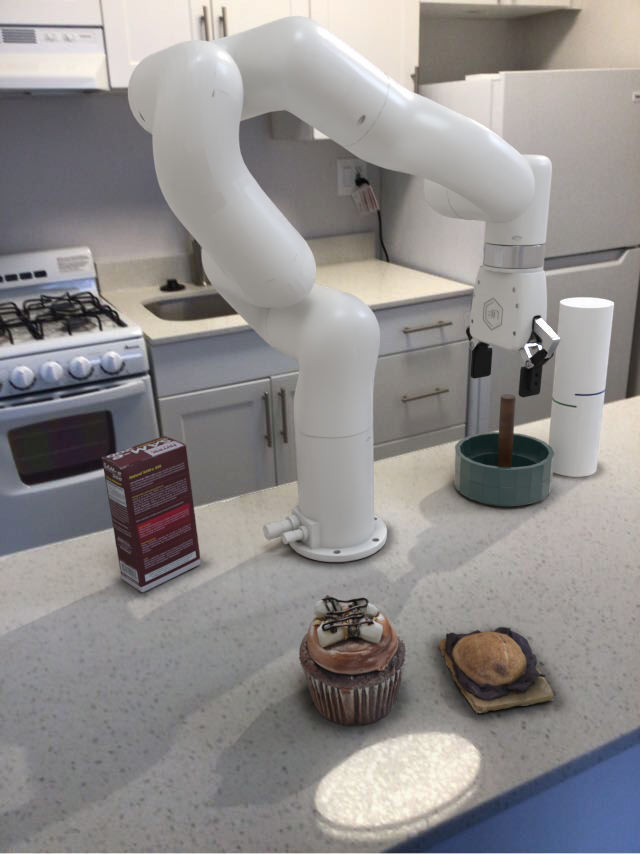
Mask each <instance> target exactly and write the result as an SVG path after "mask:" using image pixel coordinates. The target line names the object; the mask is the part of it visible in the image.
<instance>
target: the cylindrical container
mask: <svg viewBox="0 0 640 854" xmlns="http://www.w3.org/2000/svg"><path fill="white" fill-rule="evenodd" d="M614 308H615V302H614V301H612V300H609V299H605V298H600V297H588V296H587V297H586V296H579V297H578V296H577V297H568V298H564V299H561V300H560V301H559V308H558V309H559V310H558V320H557V322H558V323H557V332H556V334H557V335H558V336H559V338H560V342H559V344H558V346H557V348H556V350H555V357H554V371H553V385H552V395H551V409H550V420H549V421H550V422H549V434H548V445H549V446H551V447H552V449H553V452H554V463H553V474H554V473H555V474H557V475H559V476H560V475H561V476H564V477H571V478H572V477H573V478H583V477H589V476H592V475H594V474H595V473H596V472H597V469H598V460H599V459H598V458H599V450H600V440H601V431H602V423H603V412H604V405H605V404H604V403H605V393H606V385H607V376H608V365H609V356H610V347H611V338H612V329H613V318H614Z"/></svg>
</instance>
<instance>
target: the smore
mask: <svg viewBox="0 0 640 854" xmlns="http://www.w3.org/2000/svg"><path fill="white" fill-rule="evenodd" d="M438 648H439V649H440V651H441V656H444V658H443V659H444V660H445V665H446V666H447V668H448V669H450V672H451V677H452V679H453V681H454V682H455V683H456V685H457V687H459V689H460V692H461V693H462V695H463V696H464V697H465V699H467V701H468V703H469V704H470V706H471V707H472V709H473V710H474V711H475V713H476V714H478V713H479V714H481V713H488V712H489V711H494V712H495V711H497V710H502V709H507V708H508V709H509V708H513V707H517V706H519V707H523V706H529V705H534V704H538V703H544V702H550V701H551V702H552V701H555V698H554V692H553V690H552V688H551V687H550V685H549V683H548V682H547V680H546V679H545V677H547V675H546V674H543V673H541V671H540V669H539V667H538V666H537V663H538V660H537V656H536V655H535V654H534V653H533V650H532V647H531V645H530V644H529V641H528V639H526V638H525V636H523V635H521V634H519V633H517V632H515V631H513V630H511V627H505V626H499V627H497V628H495V629H494V630H493V631H483V632H482V631H480V630H479V629H477V630H474V631H471V632H469V633H455V632H449V633H448V632H446V635H445V638H443V639H441V640H440V641H439V644H438Z"/></svg>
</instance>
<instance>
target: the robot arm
mask: <svg viewBox="0 0 640 854" xmlns="http://www.w3.org/2000/svg"><path fill="white" fill-rule="evenodd" d="M127 101H128V104H129V109H130V111H131V114H132V115H133V117H134V119H135V120H136V121H137V123H138V124H139V126H141V127H142V128H143V130H145V131H146V132H147V133H149V134H151V135H152V137H151V138H152V155H153V163H154V169H155V174H156V179H157V182H158V187H159V188H160V191H161V193H162V196H163V198H164V200H165V202H166V203H167V205H168V207H169V208H170V210H171V212H172V213H173V214H174V216H175V217H176V218H177V220H178V222H180V223H181V224H182V225H183V227H184V228H185V229H186V230H187V231H188V233H189V234H190V235H191V236H192V237H193V238H194V239H195V241H196V242H197V243H198V245H199V246H200V247H201V263H202V268H203V271H204V273H205V276H206V277H207V279H208V281H209V283H210V284H211V286H212V287H213V288H214V290H216V292H217V293H218V294H219V295H220V296H221V297H222V298H223V299H224V300H225V302H227V304H228V305H229V306H230V307H231V308H232V309H233V310H234V311H235V312H236V313H237V314H238V315H239V316H240V317H241V318H242V319H243V321H245V323H247V325H249V327H251V328H252V329H253V331H254V332H255V333H256V334H258V336H259V337H260V338H262V340H264V341H265V342H266V343H267V344H268V345H269V346H270V347H271V348H272V349H274V350H275V351H277V352H279V353H280V354H282V355H284V356H285V357H287V358H290V359H292V360H294V361H295V362H296V363H298V366H299V367H298V369H299V371H298V378H297V381H296V386H295V389H294V395H293V409H292V410H293V428H294V445H295V463H296V464H295V465H296V479H297V480H296V482H297V483H296V484H297V501H298V502H297V503H298V504H297V505H292V506H291V507H290V510H291V511H290V513H291V515H287V516H285V519H283V520H280V521H274V522H269V523H267V524H264V525H263V526H262V532H263V535H264V537H265V539H266V540H267V541H271V540H274V539H279V538H281V541H282V543H283V544H284V545H287V544H288V545H289V546H290V547H291V548H292V550H294V551H295V552H296V553H297V554H299V555H301V556H303V557H305V558H308V559H310V560H315V561H319V562H327V563H346V562H347V563H348V562H352V561H353V562H354V561H358V560H361V559H364V558H367V557H370V556H371V555H373V554H375V553H377V552H378V551H380V550H381V549H382V548H383V547H384V545H385V544H386V542H387V539H388V529H387V526H386V523H385V522H384V520H382V519H381V518H380V517H379V516H377V515H376V514H375V467H374V466H375V465H374V464H375V463H374V462H375V458H374V456H375V454H374V453H375V451H374V388H375V376H376V371H377V365H378V359H379V354H380V349H381V329H380V324H379V321H378V319H377V316H376V314H375V312H374V311H373V310H372V309H371V307H370V306H369V305H368V304H367V303H366V302H364V301H363V300H362V299H360V298H359V297H357V296H356V295H354V294H352V293H349V292H347V291H343V290H340V289H337V288H334V287H330V286H326V285H322V284H319V283H316V280H317V265H316V264H317V263H316V259H315V256H314V253H313V250H311V247H310V246H309V244H308V243H307V241H306V239H305V238H304V237H303V236H302V235H301V234H300V232H299V231H298V230H297V229H296V228H295V226H293V225H292V223H290V221H289V219H287V217H286V216H285V215H284V213H282V212H281V210H280V209H279V208H278V207H277V206H276V204H275V203H274V202H273V201H272V199H270V197H269V196H268V195H267V194H266V192H265V191H264V190H263V189H262V187H261V186H260V184H259V183H258V182H257V180H256V179H255V177H254V176H253V174H252V173H251V172H250V171H249V168H248V166H247V165H246V163H245V161H244V159H243V158H244V157H243V156H242V153H241V152H242V151H241V147H240V124H241V122H243V121H247V120H249V119H252V118H255V117H258V116H261V115H264V114H267V113H268V114H269V113H272V112H280V111H281V112H282V111H286V112H288V113H291V115H293V116H295V117H297V118H298V119H300V120H301V121H303V122H304V123H305V124H307V125H309V126H310V127H312V128H314V129H315V130H316V131H318V132H320V133H321V134H323V135H324V136H325V137H327V138H329V139H330V140H331V141H333V142H335V143H336V144H338V145H339V146H341V147H342V148H343V149H345V150H347V151H348V152H349V153H351V154H352V155H354V157H356V158H358V159H360V160H362V161H364V162H366V163H369V164H371V165H374V166H377V167H380V168H382V169H386V170H390V171H393V172H394V171H395V172H398V173H402V174H403V173H404V174H408V175H412V176H416V177H419V178H422V179H424V180H423V195H424V199H425V201H426V203H427V204H428V206H429V207H430V208H431V209H432V210H433V211H434V212H435V213H437V214H439V215H441V216H444V217H447V218H451V219H458V220H465V221H478V222H485V229H484V230H485V231H484V244H483V245H484V246H483V263H482V264H481V265H479V268H478V271H477V275H476V279H475V283H474V288H473V293H472V301H471V308H470V310H469V311H466V312H465V313H464V314H463V321H464V324H465V325H464V326H465V334H466V337H467V338H468V341H469V343H468V347H469V349H470V350H471V359H470V378H471V379H474V380H475V379H480V378H481V379H482V378H487V377H489V376H491V375H492V364H493V347H496V348H500V349H502V350H506V351H508V352H509V351H510V352H515V351H516V352H517V351H518V354H519V355H520V357H521V360H522V362H523V364H524V365H523V366H521V367H520V370H519V382H518V396H519V397H521V398H527V397H532V396H536V395H540V393H541V388H542V387H541V386H542V378H543V377H542V376H543V375H542V374H543V367H544V366H547V364H548V361H550V360H551V359H552V358H553V357H554V355H555V352H556V348H557V346H558V344H559V342H560V338H559V336H558V335H557V332H555V331H554V330H553V329H552V328H551V327H550V326H549V325H548V323H547V318H548V290H547V289H548V288H547V275H546V271H545V270H544V265H545V257H546V256H545V255H546V242H547V234H548V223H549V210H550V198H551V189H552V178H553V163H552V161H551V159H550V158H549V157H548V156H546V155H544V154H525V153H524V154H521V153H520V152H519V151H518V150H517V149H516V148H514V146H512V145H511V144H509V142H507V141H505V139H503V138H502V137H501V136H499V135H498V134H497V133H496V132H494V131H492V130H491V129H489V127H487V126H485V125H484V124H481V123H480V122H478V121H476V120H475V119H473V118H470V117H468V116H466V115H464V114H462V113H459V112H458V111H455V110H453V109H452V108H449V107H447V106H445V105H443V104H441V103H438V102H436V101H435V100H433V99H430V98H429V97H427V96H424V95H421V94H419V93H416V92H413V91H411V90H410V89H408V88H406V86H404V85H402V84H400V83H399V81H396V80H395V79H394V78H392V77H391V76H390V75H389V74H387V73H386V72H385V71H383V70H382V69H381V68H380V67H378V66H377V65H375V64H374V63H373V62H371V61H370V60H368V58H366V57H365V56H364V55H362V54H361V53H360V52H358V51H357V50H356V49H355V48H354V47H352V46H351V45H349V44H348V43H347V42H345V41H344V40H343V39H341V38H340V37H339V36H337V35H336V34H335V33H333V32H332V31H331V30H330V29H329V28H327V27H326V26H324V25H322V24H321V23H319V21H317V20H314V19H312V18H309V17H306V16H301V15H290V16H286V17H281V18H278V19H275V20H272V21H270V22H267V23H264V24H260V25H258V26H256V27H252V28H249V29H246V30H244V31H240V32H237V33H234V34H231V35H230V34H229V35H227V36H223V37H220V38H216V39H212V40H201V39H192V40H186V41H185V40H184V41H182V42H179V43H175V44H173V45H170V46H168V47H166V48H163V49H160V50H158V51H155V52H153V53H150V54H148V55H147V56H145V57H144V58H143V59H141V61H140V62H139V63H137V64H136V66H135V68H134V70H133V71H132V73H131V75H130V78H129V81H128V87H127ZM490 346H493V347H490ZM531 351H532V353H533V355H532V354H531Z"/></svg>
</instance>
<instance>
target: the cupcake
mask: <svg viewBox="0 0 640 854" xmlns="http://www.w3.org/2000/svg"><path fill="white" fill-rule="evenodd" d="M342 603H344V604H342ZM313 614H314V616H315V617H313V619H312V621H311V622H310V624H309V626H308V629H307V633H305V635H304V636H303V638H302V640H301V643H300V646H299V650H298V651H299V652H298V654H299V656H298V659H299V662H300V663H299V664H300V667H301V668H302V672H303V675H304V676H305V679H306V681H307V685H308V688H309V692H310V696H311V699H312V702H313V703H314V707H315V708H316V710H317V711H318V712H319V713H320V715H321V716H323V718H325V719H327V720H329V721H330V722H331V721H332V722H334V723H335V724H340V725H344V726H356V725H361V726H364V725H369V724H374V723H376V722H377V721H380V720H381V719H383V718H385V717H387V716H388V715H389V713H390V712H391V711H392V710H393V708H394V706H395V705H396V702H397V698H398V694H399V690H400V687H401V681H402V677H403V673H404V669H405V666H406V664H407V663H406V660H407V649H406V648H407V646H406V643H405V642H404V641H405V640H404V639H401V636H398V633H397V630H396V629H395V627H394V625H393V624H392V622H391V621H390V620H389V618H387V616H386V615H385V614H384V613H382V612H380V611H379V610H378V608H377V607H376V605H374V604H372V603H370V601H369V600H368V598H366V597H357V598H351V599H346V600H342V599H338V598H335V597H333V596H330V595H329V594H326V596H325V597H323V598H321V600H318V601H316V603H315V604H314V612H313Z"/></svg>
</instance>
